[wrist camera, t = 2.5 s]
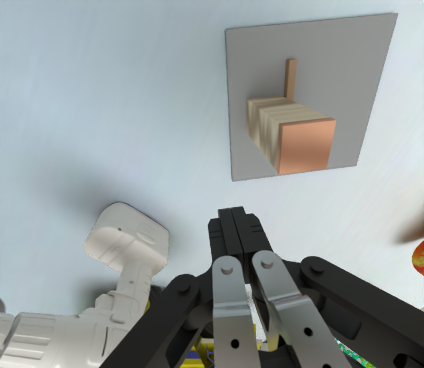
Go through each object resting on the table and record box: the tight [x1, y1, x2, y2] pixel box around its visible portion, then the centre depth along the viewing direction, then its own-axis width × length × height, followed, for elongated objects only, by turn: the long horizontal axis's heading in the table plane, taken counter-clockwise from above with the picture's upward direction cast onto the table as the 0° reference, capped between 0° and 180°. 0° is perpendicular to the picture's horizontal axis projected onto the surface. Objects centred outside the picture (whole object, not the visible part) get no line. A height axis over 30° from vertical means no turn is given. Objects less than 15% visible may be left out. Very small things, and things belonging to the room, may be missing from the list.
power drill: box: [0, 202, 169, 368], centre depth 31 cm, size 8×24×25 cm, turn 44°
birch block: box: [246, 95, 336, 175], centre depth 28 cm, size 5×5×14 cm
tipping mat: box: [225, 13, 398, 182], centre depth 34 cm, size 22×22×2 cm
